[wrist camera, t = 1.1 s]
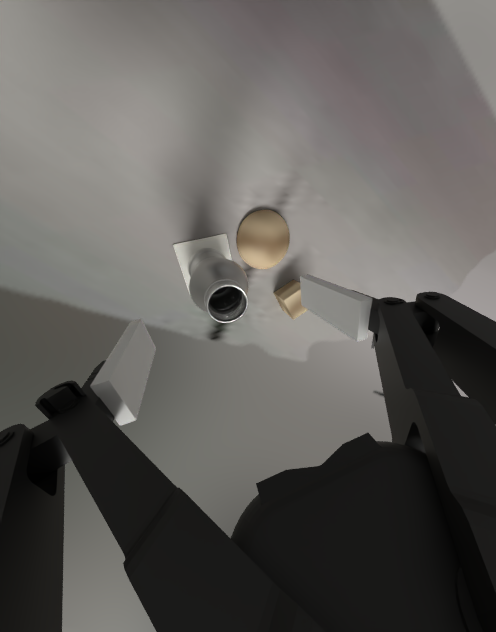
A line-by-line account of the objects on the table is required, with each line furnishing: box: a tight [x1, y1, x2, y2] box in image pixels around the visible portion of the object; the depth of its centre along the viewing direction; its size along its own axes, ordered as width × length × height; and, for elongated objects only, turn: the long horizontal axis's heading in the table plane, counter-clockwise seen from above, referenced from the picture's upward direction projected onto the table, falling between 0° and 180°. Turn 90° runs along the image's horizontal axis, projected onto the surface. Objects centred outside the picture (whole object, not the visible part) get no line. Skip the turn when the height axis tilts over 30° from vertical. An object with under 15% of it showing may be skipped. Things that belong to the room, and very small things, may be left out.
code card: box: [173, 234, 232, 294], centre depth 34 cm, size 9×9×1 cm
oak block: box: [274, 280, 308, 320], centre depth 39 cm, size 5×5×5 cm
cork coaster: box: [237, 210, 289, 269], centre depth 35 cm, size 10×10×1 cm
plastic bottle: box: [188, 248, 248, 323], centre depth 25 cm, size 6×7×20 cm
